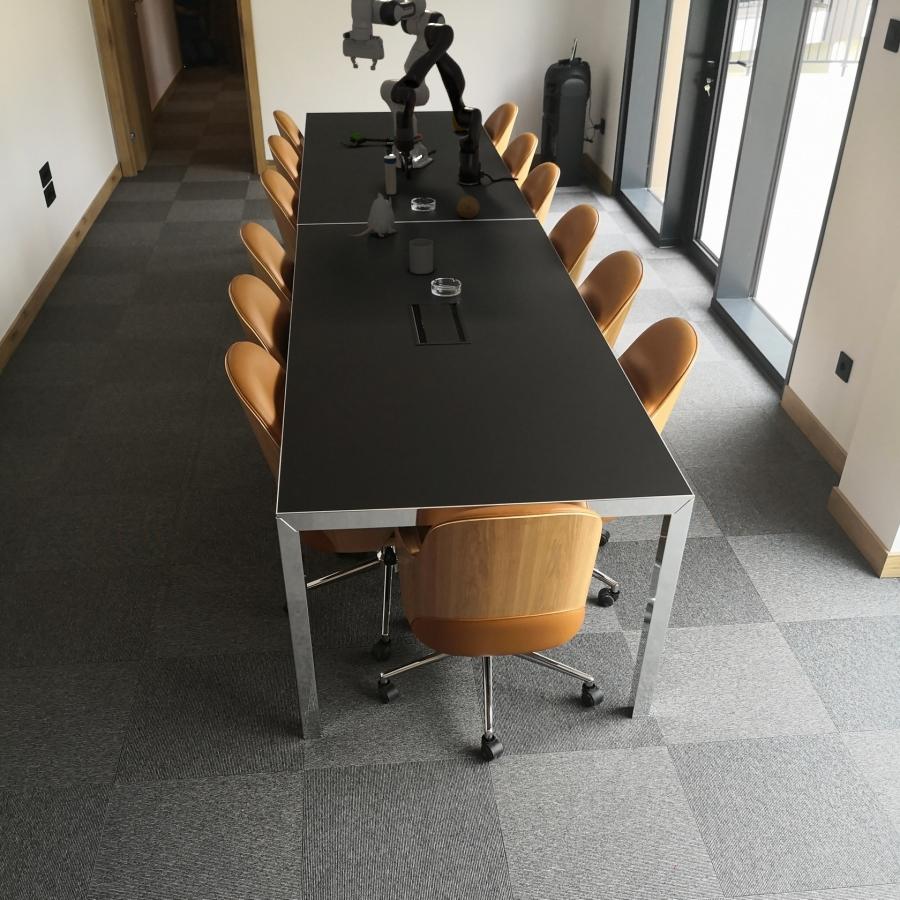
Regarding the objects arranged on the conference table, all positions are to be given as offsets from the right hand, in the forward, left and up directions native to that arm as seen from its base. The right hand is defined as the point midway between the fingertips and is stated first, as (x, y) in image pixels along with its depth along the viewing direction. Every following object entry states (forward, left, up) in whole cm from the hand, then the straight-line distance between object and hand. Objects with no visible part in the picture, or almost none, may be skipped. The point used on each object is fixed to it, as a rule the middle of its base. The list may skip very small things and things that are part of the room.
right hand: (406, 175), depth 364 cm
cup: (+23, +72, -13) cm, 77 cm away
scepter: (-21, -109, -13) cm, 112 cm away
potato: (-18, +24, -13) cm, 32 cm away
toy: (+27, +31, -13) cm, 43 cm away
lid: (-1, -22, +2) cm, 22 cm away
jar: (-1, -22, -13) cm, 25 cm away
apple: (-80, -120, -13) cm, 145 cm away
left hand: (+1, -46, +35) cm, 58 cm away
